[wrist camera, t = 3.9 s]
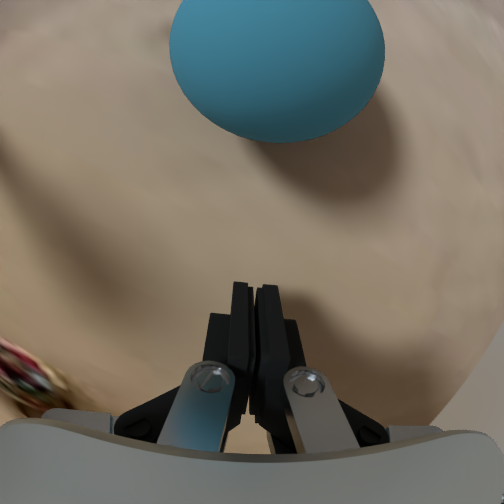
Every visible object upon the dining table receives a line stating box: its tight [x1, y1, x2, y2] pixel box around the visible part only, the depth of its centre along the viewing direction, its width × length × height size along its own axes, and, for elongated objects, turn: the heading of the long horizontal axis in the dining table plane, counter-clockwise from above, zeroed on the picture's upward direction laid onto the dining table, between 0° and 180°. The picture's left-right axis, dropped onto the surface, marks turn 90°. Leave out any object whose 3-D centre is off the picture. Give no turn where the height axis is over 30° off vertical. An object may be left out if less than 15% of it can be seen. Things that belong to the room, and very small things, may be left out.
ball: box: [169, 0, 385, 143], centre depth 7 cm, size 6×6×6 cm
